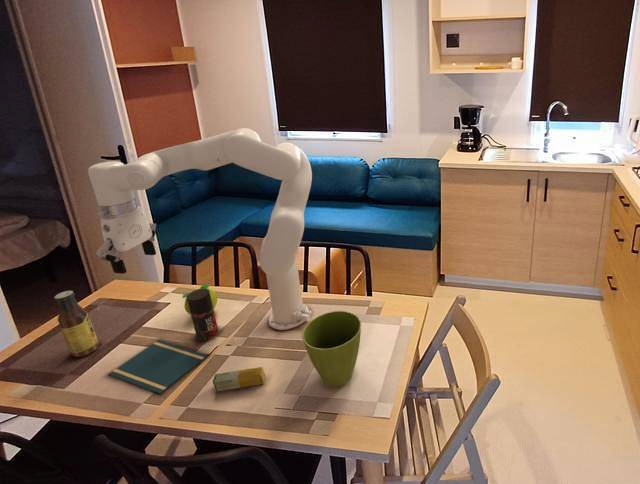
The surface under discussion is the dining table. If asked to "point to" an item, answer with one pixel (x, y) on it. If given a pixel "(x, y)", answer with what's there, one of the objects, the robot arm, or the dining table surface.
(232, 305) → the dining table surface
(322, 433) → the dining table surface
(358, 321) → the flower pot
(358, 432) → the dining table surface
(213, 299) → the fruit
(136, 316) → the dining table surface
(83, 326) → the sauce bottle
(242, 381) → the medication box
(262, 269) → the robot arm
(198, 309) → the deodorant
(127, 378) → the cloth
